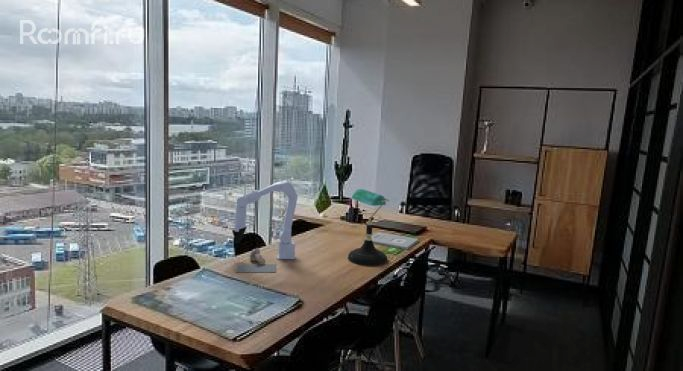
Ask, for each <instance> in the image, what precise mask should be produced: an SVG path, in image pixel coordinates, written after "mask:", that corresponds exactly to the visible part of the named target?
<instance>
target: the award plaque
mask: <svg viewBox="0 0 683 371" xmlns="http://www.w3.org/2000/svg"><path fill="white" fill-rule="evenodd" d="M371 238H372V242H373V244H374V245H378V246H383V245H384V246H385V247H389V246H390V247H389V248H394V247H396V248H395V249H399V248H401V250H406V251H408V250H409V249H410V248H412V246H414V245H415V244H417V243H418V242H419V238H416V237H409V236H404V235H403V236H402V235H398V234H397V235H396V234H391V233H387V232H385V233H384V232H379V231H377V232H376V233H373V234H372V236H371ZM365 239H366V238H365ZM365 239H363V243H364V242H365Z"/></svg>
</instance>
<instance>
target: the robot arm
mask: <svg viewBox="0 0 683 371" xmlns="http://www.w3.org/2000/svg"><path fill="white" fill-rule="evenodd" d="M273 192H278V193H279V192H280V193H281V192H282V193H283V194H284V195H286V196H287V199H288V200H287V206H286V208H285V209H286V210H285V214H284V220H283V223H282V226H281V230H280V231H279V233H278V237H279V238H280V239H279V240H278V249H277V250H278V252H277V260H295V257H296V256H295V255H296V251H295V250H296V249H295V248H296V243H295V242H293V241H292V238H293V237H292V226H293V221H294V216H295V211H296V206H297V202H298V194H297V192H296V189H295V187H294V185H292V183H291V182H290V181H289V180H287V179H284V180H281V181H278V182H275V183H273V184H271V185H268V186H266V187H264V188H262V189H260V190H258V189H255V190H254V189H251V191H249V192H247V193H243V194H242V195H239V196H238V197H237V198H236V207H235V208H236V209H235V215H234V216H235V218H234V219H235V220H234V223H233V224H232V227H234V229H233V230H232V231H231V232H232V234H233V239H234V243H235V244H240V241H242V240H243V238H244V234H245V232H246V230H247V228H248V227H247V226H246V221H247V206H248V204H249V205H250V204H253V203H254V202H256V201H259V200H261V198H262V196H266V195H268V194H271V193H273Z"/></svg>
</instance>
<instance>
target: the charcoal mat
mask: <svg viewBox="0 0 683 371" xmlns="http://www.w3.org/2000/svg"><path fill="white" fill-rule="evenodd" d="M235 273H236V274H237V273H242V274H243V273H246V274H247V273H249V274H250V273H251V274H252V273H253V274H255V273H258V274H259V273H260V274H261V273H266V274H267V273H270V274H271V273H277V264H275V263H273V264H270V263H267V264H266V263H265V264H264V265H262V263H260V264H259V263H255V264H254V263H252V264H251V263H250V264H249V263H248V264H246V263H245V264H244V263H241V264H239V263H238V264H237V267H236V271H235Z"/></svg>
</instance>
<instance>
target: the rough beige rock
mask: <svg viewBox="0 0 683 371" xmlns="http://www.w3.org/2000/svg"><path fill="white" fill-rule="evenodd" d="M249 260H251V261H253V262H254V261H257V262H259V263H260V264H262V265H264V264H266V259H265V258H264V257H262V255H261V250H260V248H259V247H255V248H253V250H252V251H251V252H250V254H249Z"/></svg>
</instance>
